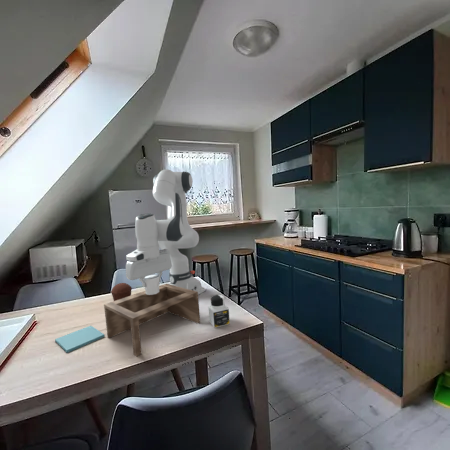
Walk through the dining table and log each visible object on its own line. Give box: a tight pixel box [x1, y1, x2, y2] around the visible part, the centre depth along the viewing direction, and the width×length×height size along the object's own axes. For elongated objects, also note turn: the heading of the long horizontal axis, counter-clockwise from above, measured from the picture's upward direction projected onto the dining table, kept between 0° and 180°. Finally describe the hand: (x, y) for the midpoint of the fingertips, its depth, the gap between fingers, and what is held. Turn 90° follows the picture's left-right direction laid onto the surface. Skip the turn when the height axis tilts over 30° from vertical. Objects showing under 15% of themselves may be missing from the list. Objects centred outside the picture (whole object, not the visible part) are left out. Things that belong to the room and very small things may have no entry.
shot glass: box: [143, 273, 160, 295], centre depth 107 cm, size 7×7×7 cm
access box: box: [103, 283, 201, 357], centre depth 108 cm, size 31×23×14 cm
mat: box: [54, 325, 105, 354], centre depth 104 cm, size 14×14×1 cm
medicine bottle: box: [207, 294, 231, 329], centre depth 111 cm, size 7×7×12 cm
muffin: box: [110, 282, 133, 301], centre depth 146 cm, size 12×11×10 cm
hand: (151, 284), depth 107 cm, fingers closed on shot glass, 5 cm apart
